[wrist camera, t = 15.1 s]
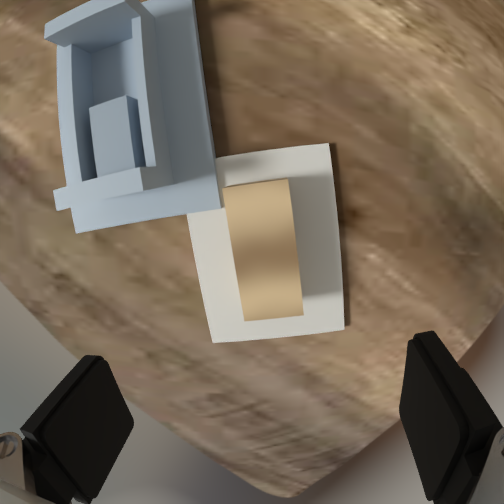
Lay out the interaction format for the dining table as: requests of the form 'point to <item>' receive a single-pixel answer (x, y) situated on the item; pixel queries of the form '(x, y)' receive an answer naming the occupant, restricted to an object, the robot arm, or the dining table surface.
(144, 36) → the jig
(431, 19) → the dining table surface
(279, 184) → the oak block
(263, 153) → the mat
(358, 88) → the dining table surface
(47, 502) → the robot arm
